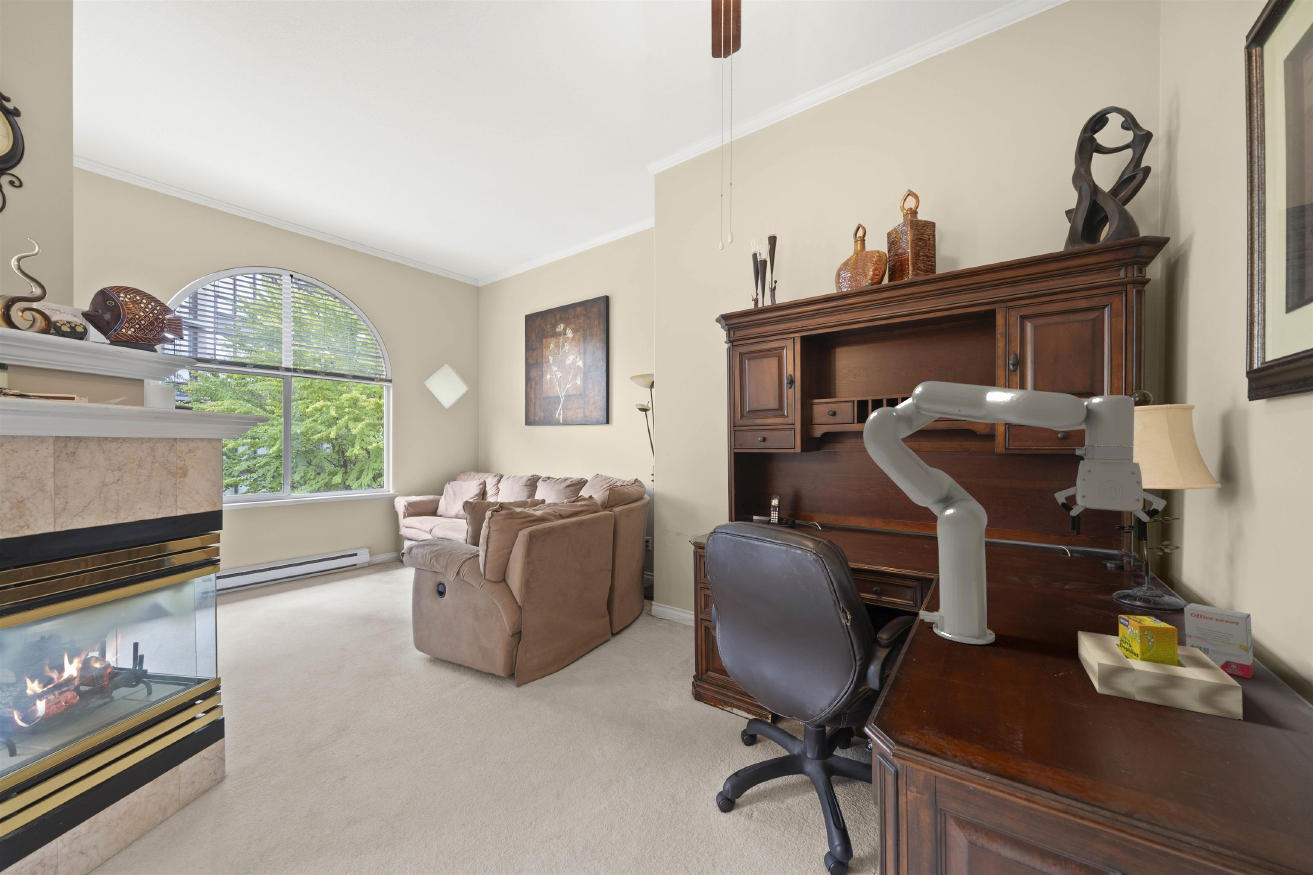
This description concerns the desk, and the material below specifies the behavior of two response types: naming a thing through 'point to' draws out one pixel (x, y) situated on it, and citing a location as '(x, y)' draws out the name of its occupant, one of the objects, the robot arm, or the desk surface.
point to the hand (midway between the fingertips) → (1106, 536)
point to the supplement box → (1148, 640)
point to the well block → (1160, 678)
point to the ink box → (1221, 637)
